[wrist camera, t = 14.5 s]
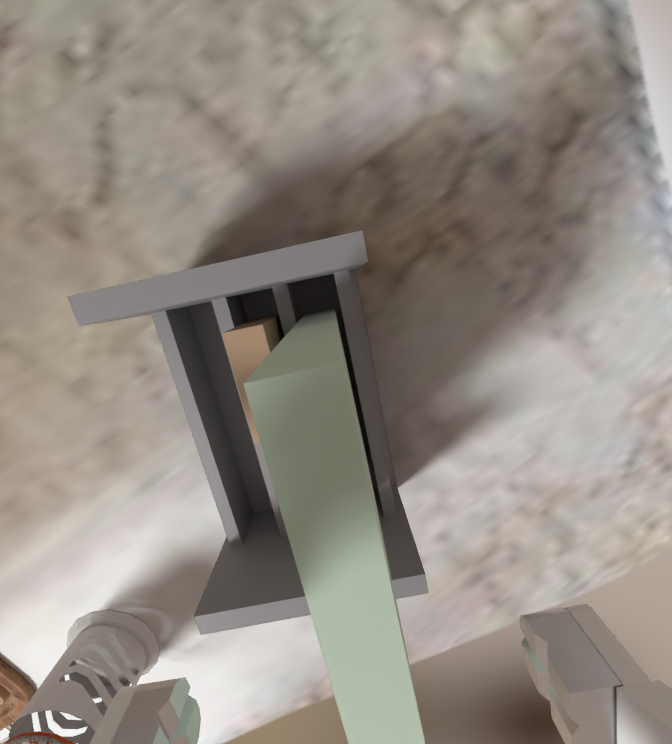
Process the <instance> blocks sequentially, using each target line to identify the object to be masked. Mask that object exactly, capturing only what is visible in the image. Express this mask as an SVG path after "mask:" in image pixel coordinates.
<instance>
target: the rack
mask: <svg viewBox="0 0 672 744" xmlns="http://www.w3.org/2000/svg"><path fill="white" fill-rule="evenodd" d="M366 263H368V257H367V252H366V246H365V241H364V235H363V230H361V231H357V232H352V233H348V234H343V235H339V236H334V237H330V238H325V239H321V240H317V241H312V242H308V243H303V244H299V245H294V246H290V247H286V248H281V249H277V250H272V251H268V252H263V253H259V254H255V255H250V256H246V257H241V258H237V259H232V260H228V261H223V262H219V263H215V264H210V265H206V266H201V267H197V268H192V269H188V270H184V271H179V272H175V273H170V274H166V275H161V276H157V277H152V278H148V279H144V280H139V281H135V282H130V283H126V284H121V285H117V286H113V287H108V288H104V289H99V290H95V291H90V292H86V293H82V294H77V295H73V296H68V300H69V302H70V305H71V307H72V310H73V313H74V315H75V318H76V320H77V323H78V325H79V326H83V325H89V324H95V323H101V322H107V321H113V320H119V319H125V318H131V317H137V316H143V315H149V314H151V315H152V318H153V321H154V323H155V326H156V329H157V332H158V335H159V338H160V341H161V344H162V347H163V350H164V353H165V356H166V359H167V362H168V365H169V368H170V370H171V373H172V376H173V379H174V382H175V385H176V388H177V391H178V394H179V397H180V400H181V403H182V406H183V409H184V412H185V414H186V417H187V420H188V423H189V426H190V429H191V432H192V435H193V438H194V441H195V444H196V447H197V450H198V453H199V456H200V459H201V461H202V464H203V467H204V470H205V473H206V476H207V479H208V482H209V485H210V488H211V491H212V494H213V497H214V500H215V503H216V505H217V508H218V511H219V514H220V517H221V520H222V523H223V526H224V529H225V532H226V535H227V537H226V540H225V542H224V545H223V547H222V550H221V552H220V554H219V557H218V559H217V562H216V564H215V567H214V569H213V571H212V574H211V576H210V579H209V581H208V583H207V586H206V588H205V591H204V593H203V596H202V598H201V600H200V603H199V605H198V608H197V610H196V613H195V615H194V619H195V622H196V624H197V627H198V629H199V632H200V634H201V635H203V634H208V633H214V632H219V631H225V630H230V629H235V628H241V627H246V626H252V625H257V624H263V623H268V622H274V621H279V620H284V619H290V618H295V617H301V616H306V615H311V613H310V610H309V607H308V603H307V600H306V596H305V593H304V589H303V586H302V583H301V579H300V576H299V572H298V569H297V566H296V562H295V559H294V555H293V552H292V548H291V545H290V542H289V538H288V535H287V531H286V528H285V525H284V521H283V518H282V514H281V511H280V507H279V504H278V501H277V497H276V494H275V490H274V487H273V484H272V480H271V477H270V473H269V470H268V467H267V463H266V460H265V456H264V453H263V449H262V446H261V443H260V442H258V443H254V441H253V437H252V434H251V430H250V427H249V424H248V420H247V417H246V414H245V410H244V407H243V403H242V400H241V397H240V393H239V390H238V386H237V383H236V380H235V376H234V373H233V369H232V366H231V363H230V359H229V356H228V353H227V349H226V346H225V342H224V339H223V336H222V333H223V332H226V331H228V330H230V329H232V328H234V327H237V326H239V325H241V324H243V323H246V322H248V321H250V320H252V319H257V318H261V317H266V316H271V315H275V314H279V317H280V321H281V325H282V329H283V332H284V336H286V335H287V333H288V332H289V331H290V330H291V329H292V328H293V327H294V326H295V324H296V323H297V322H298V321H299V320H300V319H301V318H302V317H303V315H304V314H306V313H311V312H315V311H320V310H324V309H329V308H333V307H335V312H336V316H337V321H338V326H339V330H340V335H341V340H342V344H343V349H344V354H345V358H346V363H347V368H348V372H349V377H350V382H351V387H352V391H353V396H354V401H355V405H356V410H357V415H358V419H359V424H360V429H361V433H362V438H363V443H364V447H365V452H366V457H367V461H368V466H369V471H370V476H371V481H372V486H373V491H374V496H375V500H376V505H377V510H378V515H379V520H380V525H381V530H382V535H383V539H384V544H385V549H386V554H387V559H388V564H389V569H390V574H391V578H392V583H393V588H394V593H395V598H396V599H399V598H404V597H410V596H415V595H421V594H426V593H428V587H427V582H426V576H425V572H424V569H423V566H422V563H421V560H420V557H419V554H418V550H417V547H416V544H415V541H414V538H413V535H412V532H411V529H410V526H409V523H408V520H407V517H406V513H405V510H404V507H403V504H402V501H401V498H400V495H399V492H398V489H397V486H396V481H395V476H394V471H393V466H392V460H391V455H390V450H389V445H388V440H387V434H386V429H385V424H384V419H383V413H382V408H381V403H380V398H379V393H378V387H377V382H376V377H375V372H374V367H373V361H372V356H371V351H370V346H369V341H368V335H367V330H366V325H365V320H364V315H363V309H362V304H361V299H360V294H359V288H358V283H357V278H356V273H355V270H356V269H358V268H359V267H361V266H363V265H364V264H366Z"/></svg>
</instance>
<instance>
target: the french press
mask: <svg viewBox="0 0 672 744" xmlns="http://www.w3.org/2000/svg"><path fill="white" fill-rule="evenodd" d="M159 651H160V648H159V645H158V641H157V638H156V635H155V634H154V633H153V632H152V631H151V629H150V628H149V627H148V626H147V625H146V624H145V623H144V622H142V621H141V620H139V619H137V618H135V617H133V616H132V615H130V614H127V613H122V612H117V611H112V610H106V611H97V612H91V613H89V614H87V615H85V616H83V617H81V618H79V619H77V620H76V622H75V623H74V624H73V626H72V627H71V628H70V629H69V631H68V639H67V650H66V651H65V652H64V654H63V655H62V657H61V658H60V659H59V661H58V662H57V664H56V665H55V666H54V668H53V669H52V671H51V672H50V673H49V675H48V676H47V677H46V679H45V680H44V682H43V683H42V684H41V686H40V687H39V689H38V690H37V691H36V693H35V694H34V696H33V697H32V698H31V700H30V701H29V703H28V704H27V705H26V707H25V708H24V709H23V711H22V712H21V714H20V715H19V716H18V718H17V719H16V721H15V722H14V723H13V725H12V726H11V729H10V732H9V739H8V741H6V742H5V743H4V744H76V743H79V744H90V742H91V740H92V738H93V736H94V734H95V732H96V730H97V728H98V726H99V724H100V723H101V721H102V719H103V717H104V715H105V713H106V711H107V709H108V707H109V705H110V703H111V701H112V700H113V698H114V696H115V695H116V694H117V693H118V691H119V690H120V689H121V688H123V687H128V686H129V685H130V683H132V686H134V685H136V684H137V682H138V680H139V678H140V676H142V675H144V674H146V673H148V672H149V671H150V670H151V669H152V667H153V666H154V665H155V664H156V663H157V660H158V655H159ZM67 674H69V678H70V680H67V681H65V678H64V675H67ZM58 682H59V683H58ZM99 697H101V698H102V702H99V703H96V704H95V703H94V701H93V700H92V699H95V698H99ZM47 710H51V713H52V717H53V720H54V721H55V722H56V723H57V724H58V725H59V726H60V727H61V728H62V729H79V728H83V727H86V726H88V727H87V729H86V731H85V733H82V734H80V735H77V736H74V737H61V736H59V735H57V734H54V733H53V732H52V731H51V730H50V729H49V728H48V724H47V720H46V715H45V711H47ZM34 712H38V718H39V723H40V728H41V732H40V731H39V732H34V729H33V723H32V715H31V713H34ZM60 712H63V713H68V714H71V715H73V716H75V717H77V718H80V719H82V720H67V719H66V718H65V717H64V716H63V715H62V714H61V713H60Z"/></svg>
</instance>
